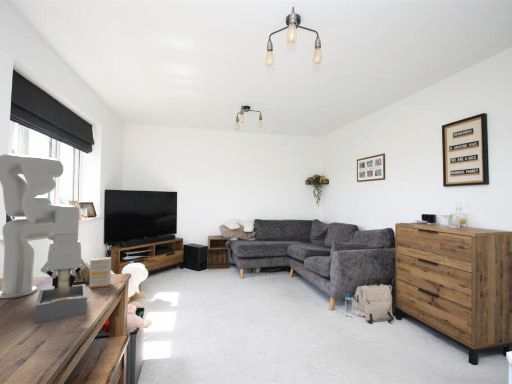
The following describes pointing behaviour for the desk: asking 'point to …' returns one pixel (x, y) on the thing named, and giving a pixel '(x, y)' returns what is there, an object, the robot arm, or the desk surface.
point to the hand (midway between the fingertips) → (63, 286)
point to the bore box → (60, 304)
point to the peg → (63, 282)
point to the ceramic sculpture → (83, 274)
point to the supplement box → (100, 272)
